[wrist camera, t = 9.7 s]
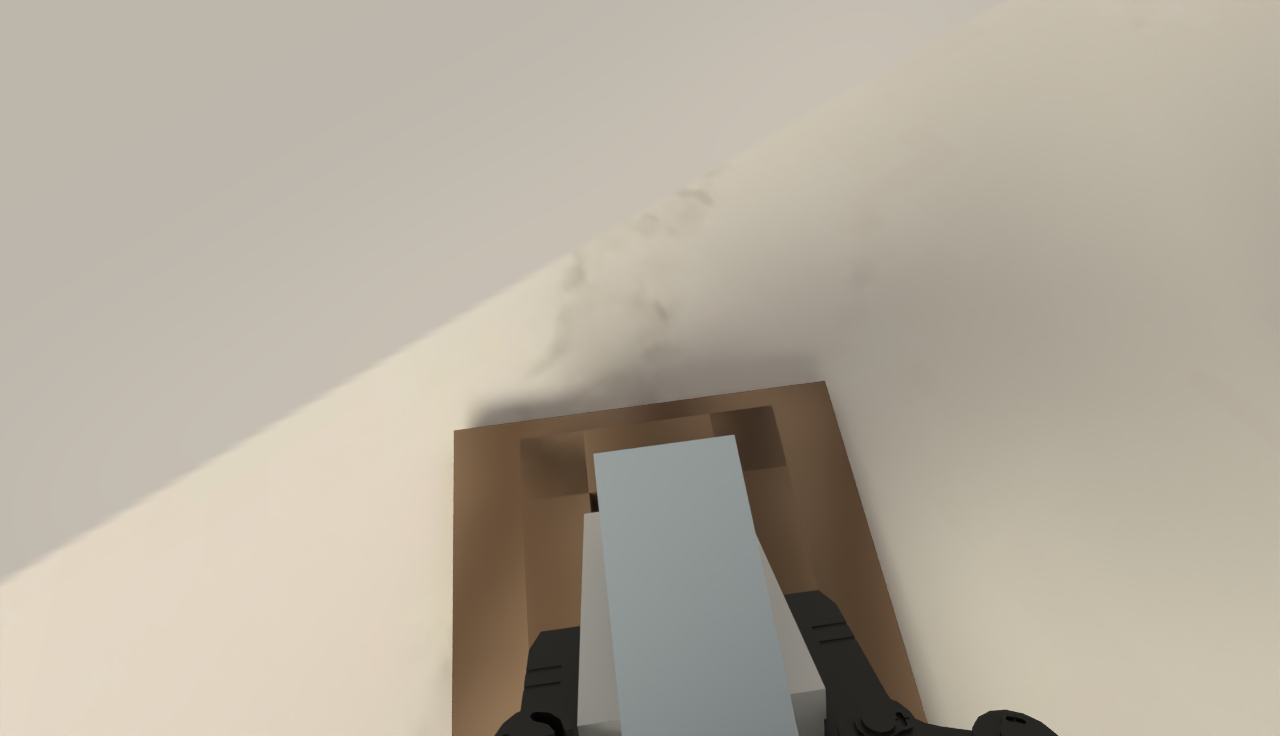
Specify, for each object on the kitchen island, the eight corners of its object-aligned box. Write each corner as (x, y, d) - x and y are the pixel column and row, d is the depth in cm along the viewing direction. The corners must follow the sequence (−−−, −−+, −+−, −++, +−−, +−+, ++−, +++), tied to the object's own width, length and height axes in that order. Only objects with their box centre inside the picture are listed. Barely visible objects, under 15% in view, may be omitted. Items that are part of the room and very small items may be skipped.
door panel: (700, 554, 21) (734, 434, 11) (751, 850, 17) (870, 1068, 7) (626, 565, 21) (593, 453, 11) (661, 864, 17) (659, 1104, 7)
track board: (817, 394, 25) (846, 338, 21) (1028, 1119, 15) (1153, 1266, 11) (463, 441, 24) (424, 394, 20) (463, 1218, 15) (392, 1406, 11)
